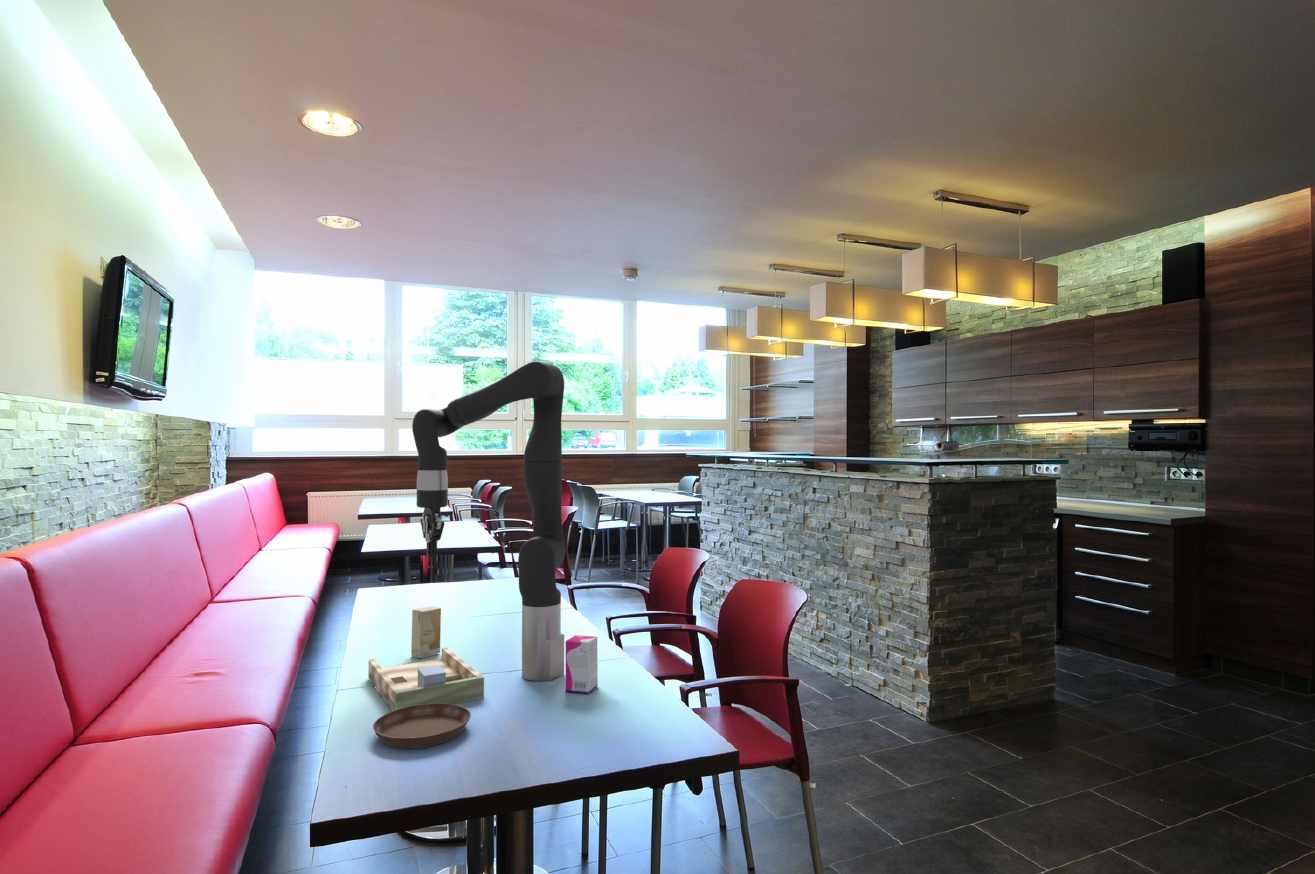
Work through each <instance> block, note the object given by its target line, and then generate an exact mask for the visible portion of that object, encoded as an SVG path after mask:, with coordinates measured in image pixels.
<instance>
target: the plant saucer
mask: <svg viewBox="0 0 1315 874" xmlns="http://www.w3.org/2000/svg"><path fill="white" fill-rule="evenodd" d="M471 716H472V715H471V711H470V710H469V709H468V708H467V707H464V706H462V705H458V704H444V703H432V704H421V705H414V706H409V707H405V708H401V709H398V710H395V711H392V710H391V711H390V712H387V713H385V714H383V715H381V716H380V717H379V718H378V719H376V720H375V721H374V723H373V724H372V729H373V731H374V733H375V735H376V736H377V737H378V738H379V739H380V740H381V741H382V742H383V743H385V745H388V746H390V747H394V748H398V749H421V748H422V749H423V748H428V747H433V746H437V745H440V744H445V743H446V742H449V741H451V740H452V739H455V738H456V737H457V736H459V734H461V732H462V731H463V730H464V729H465V727H466V726H467V724H468V722H469V721H470V719H471Z"/></svg>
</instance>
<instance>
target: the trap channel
mask: <svg viewBox="0 0 1315 874" xmlns="http://www.w3.org/2000/svg"><path fill="white" fill-rule="evenodd" d="M435 665H439V666H440V667H441V668H442V669H443V670H444V671H445V672H446V682H445V683H440V684H434V685H429V686H423V687H418V668H423V667H429V666H435ZM367 676H368V678H369V679H370V680H371V682H372V683H373V684H372V683H371V682H370V683H371V684H372V686H373V685H374V686H375V687H376V689H377V690H378V691H377V690H376V689H375V690H376V691H377V693H378V692H379V693H380V694H381V695H380V694H379V693H378V694H379V695H380V697H381V696H382V697H383V698H382V697H381V698H382V699H383V700H385V701H384V702H385V704H387V706H388V707H389V709H390V710H391V712H392V711H395V710H398V709H401V708H405V707H409V706H414V705H421V704H432V703H444V704H454V705H457V704H462V703H465V702H470V701H471V702H472V701H476V700H481V699H484V698H485V676H483V675H482V674H481V673H480V672H478V671H477V670H476V669H474V668H473V667H472V666H471V665H469V664H468V663H467V662H466V661H464V660H463V659H462V658H461V657H459V656H458V655H457V654H455V652H453V651H451V650H450V649H449V648H448V647H443V648H441V658H436V659H430V660H424V661H418V662H417V661H416V662H412V663H411V662H410V663H406V664H400V665H399V664H398V665H394V666H388V667H382V666H380V664H379V663H378V662H377V661H376V660H375V658H372V659H368V675H367ZM369 679H368V680H369ZM370 680H369V681H370ZM374 686H373V687H374ZM375 687H374V688H375Z"/></svg>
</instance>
